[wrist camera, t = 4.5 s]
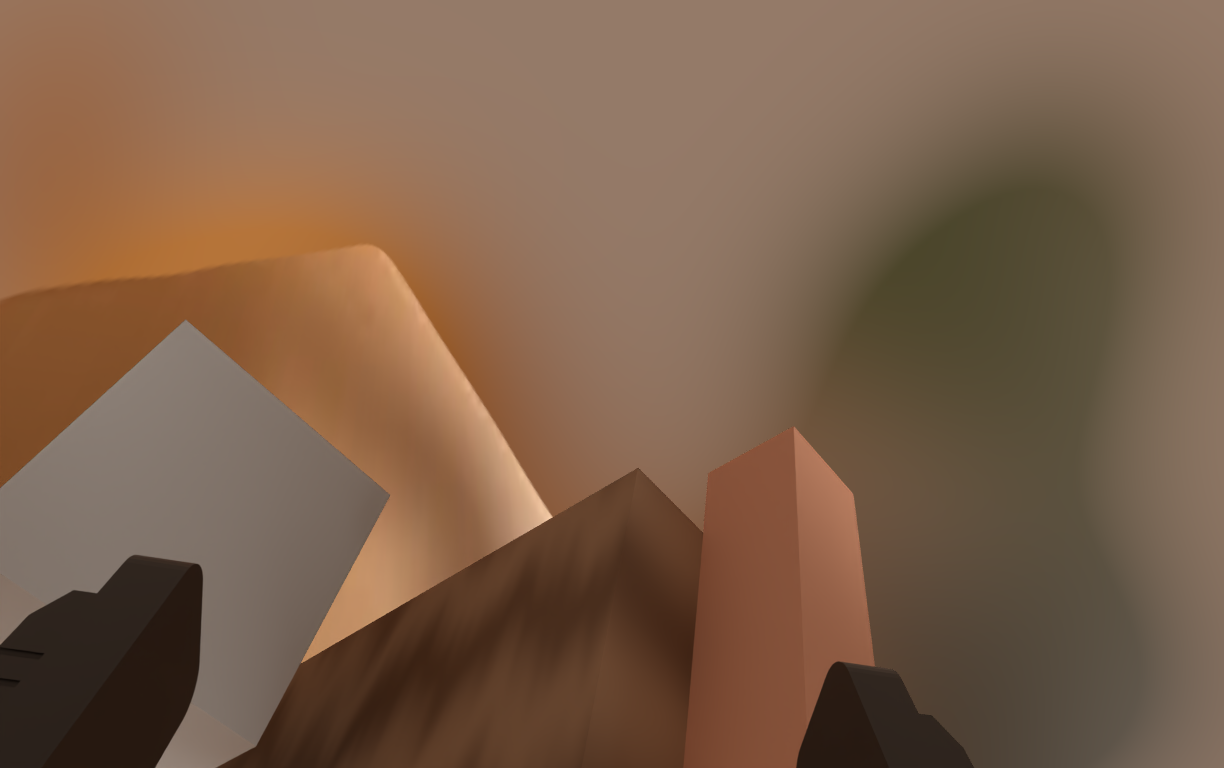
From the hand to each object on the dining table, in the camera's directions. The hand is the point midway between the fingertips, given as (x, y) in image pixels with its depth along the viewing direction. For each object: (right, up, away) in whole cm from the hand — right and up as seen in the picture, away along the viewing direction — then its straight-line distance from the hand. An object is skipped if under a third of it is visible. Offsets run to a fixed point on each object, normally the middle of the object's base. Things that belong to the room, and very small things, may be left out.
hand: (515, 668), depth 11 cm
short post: (-29, -13, +24) cm, 40 cm away
